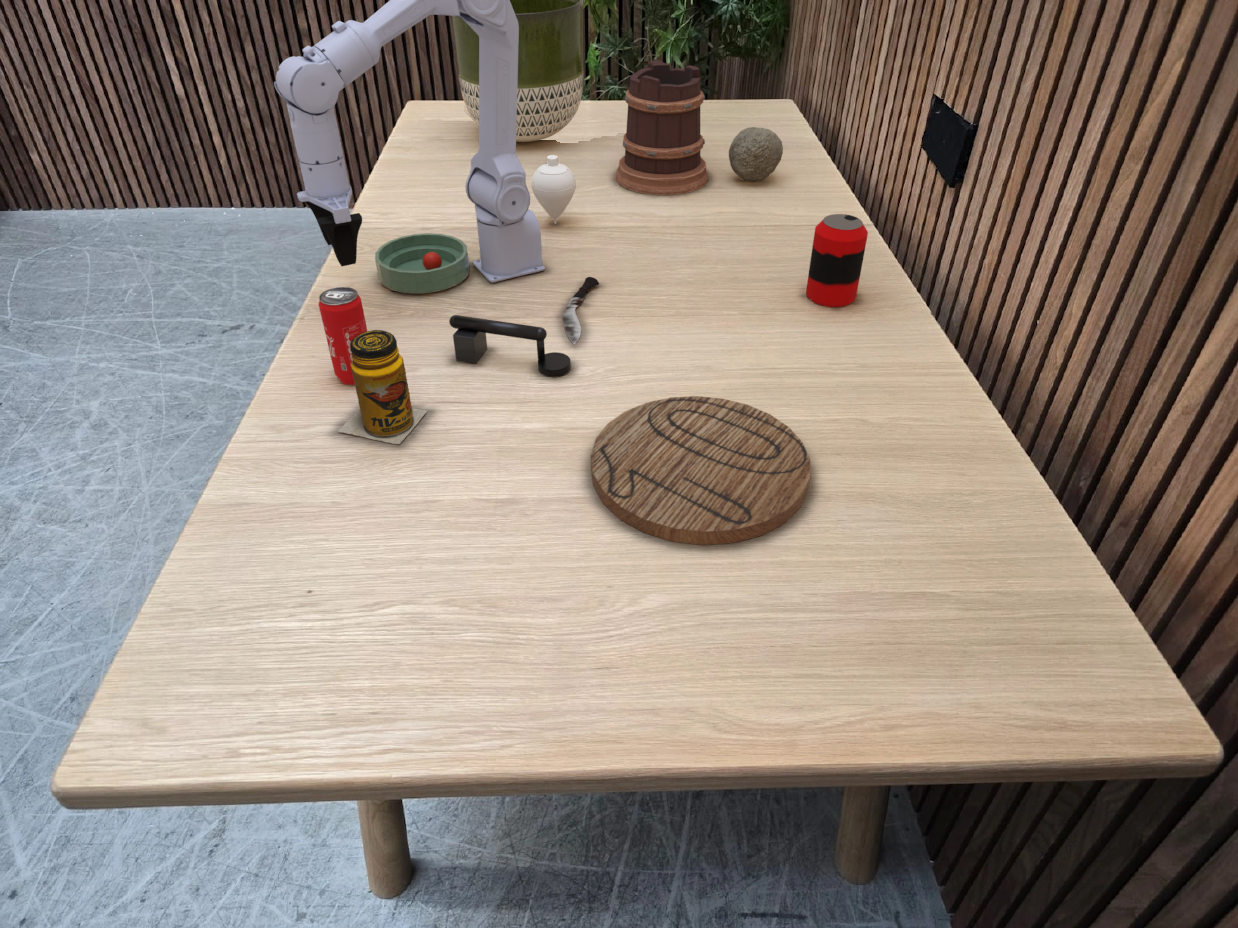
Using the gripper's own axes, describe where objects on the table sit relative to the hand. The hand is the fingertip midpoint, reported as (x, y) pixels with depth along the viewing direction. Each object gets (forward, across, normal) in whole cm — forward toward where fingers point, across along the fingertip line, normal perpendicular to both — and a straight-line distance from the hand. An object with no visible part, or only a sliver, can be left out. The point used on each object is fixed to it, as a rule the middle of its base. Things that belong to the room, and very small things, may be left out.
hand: (341, 253), depth 125 cm
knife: (+10, +15, +30) cm, 35 cm away
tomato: (+8, -8, +15) cm, 19 cm away
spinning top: (+10, -17, +40) cm, 45 cm away
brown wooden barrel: (+10, -30, +69) cm, 76 cm away
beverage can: (+10, +16, -4) cm, 20 cm away
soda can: (+10, +28, +66) cm, 73 cm away
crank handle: (+10, +23, +16) cm, 29 cm away
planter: (+10, -63, +54) cm, 83 cm away
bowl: (+10, -8, +13) cm, 18 cm away
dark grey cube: (+10, +19, +12) cm, 24 cm away
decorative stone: (+10, -18, +83) cm, 86 cm away
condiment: (+10, +28, -4) cm, 30 cm away
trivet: (+10, +55, +26) cm, 61 cm away
